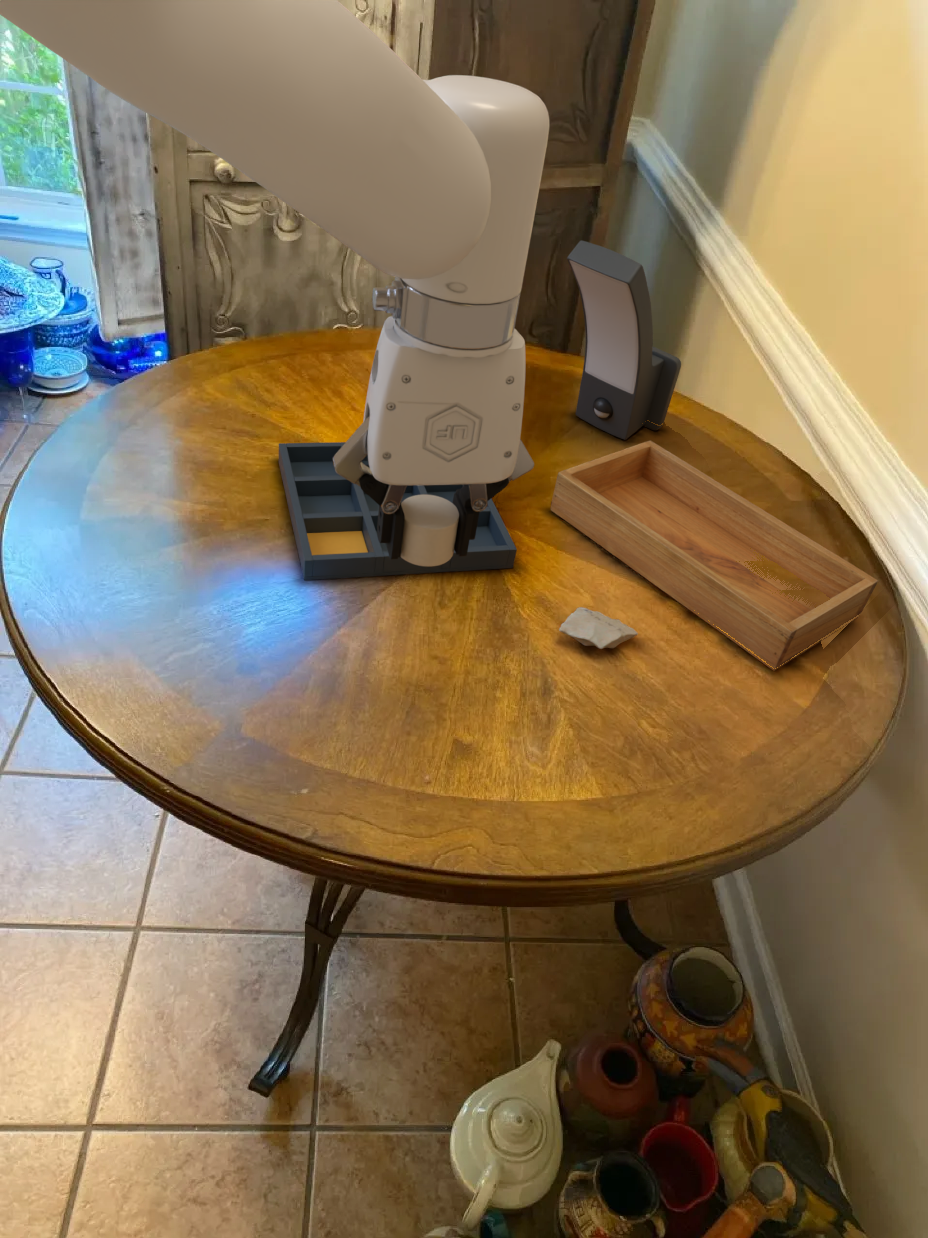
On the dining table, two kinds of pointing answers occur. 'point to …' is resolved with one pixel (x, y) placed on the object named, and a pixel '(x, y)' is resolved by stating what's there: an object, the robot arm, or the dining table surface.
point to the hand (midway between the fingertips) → (424, 544)
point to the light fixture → (619, 345)
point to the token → (428, 530)
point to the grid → (366, 522)
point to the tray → (710, 549)
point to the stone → (596, 629)
